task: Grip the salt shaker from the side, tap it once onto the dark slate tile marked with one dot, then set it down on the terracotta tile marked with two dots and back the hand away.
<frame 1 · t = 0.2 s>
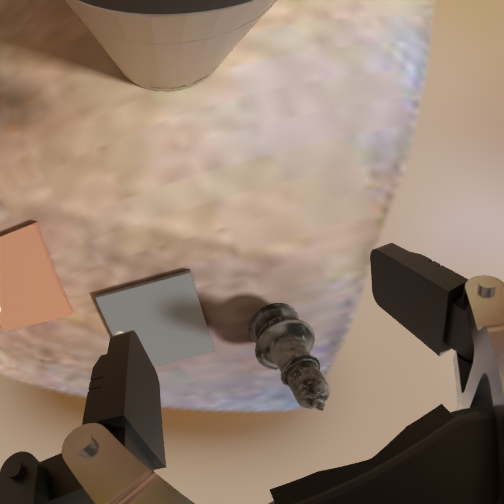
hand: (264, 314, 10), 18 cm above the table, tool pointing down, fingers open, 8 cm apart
salt shaker: (273, 324, 33), on the table
tile two: (17, 280, 24), on the table
tile one: (157, 323, 29), on the table
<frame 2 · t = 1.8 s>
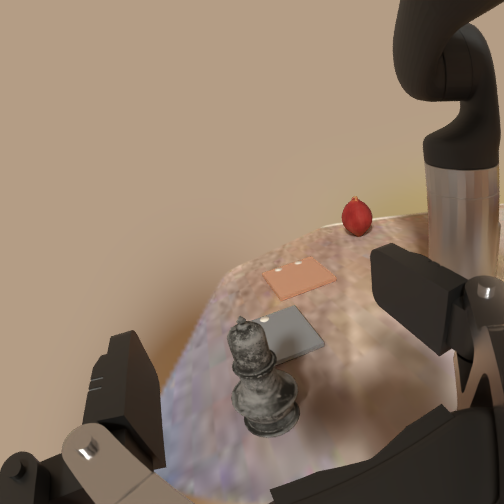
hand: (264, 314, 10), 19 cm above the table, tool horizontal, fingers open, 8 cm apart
salt shaker: (272, 416, 28), on the table
tile two: (297, 278, 50), on the table
tile one: (274, 338, 38), on the table
onion: (359, 236, 59), on the table
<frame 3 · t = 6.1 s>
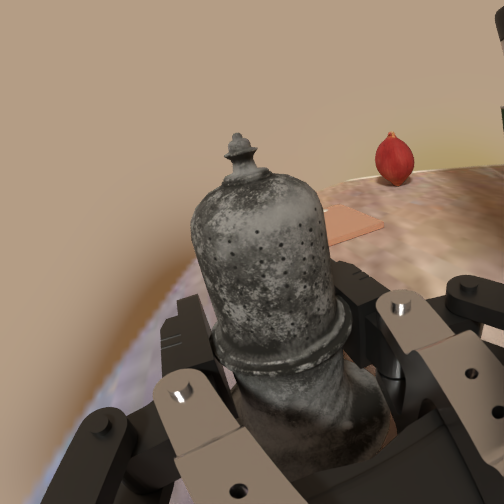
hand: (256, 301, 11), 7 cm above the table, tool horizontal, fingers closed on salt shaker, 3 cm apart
salt shaker: (310, 464, 11), on the table, touching gripper
tile two: (325, 227, 34), on the table
onion: (397, 187, 43), on the table
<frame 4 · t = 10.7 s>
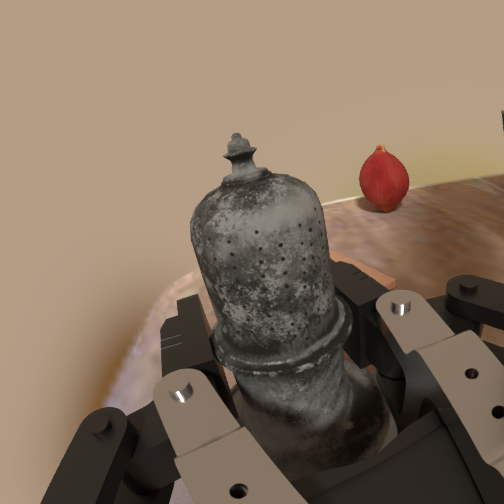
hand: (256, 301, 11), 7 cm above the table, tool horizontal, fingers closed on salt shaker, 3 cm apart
salt shaker: (310, 464, 11), resting on tile one, touching gripper
tile two: (312, 289, 24), on the table
onion: (387, 213, 35), on the table
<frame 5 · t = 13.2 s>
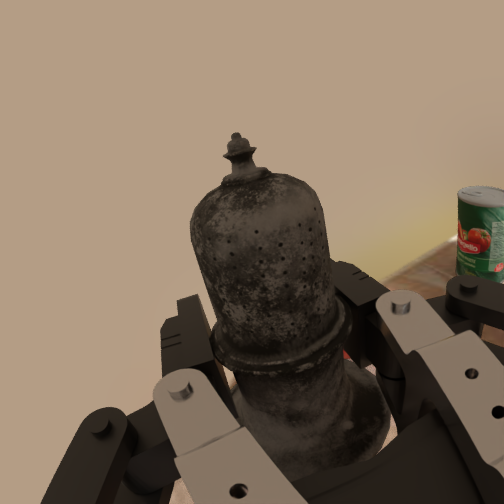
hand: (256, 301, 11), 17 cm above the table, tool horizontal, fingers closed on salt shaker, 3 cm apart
salt shaker: (310, 464, 11), point 11 cm above the table, touching gripper
canned tomato: (480, 273, 35), on the table
when the fingers open (8 cm above the table, at t = 15.2 s): salt shaker stays where it is, resting on tile two.
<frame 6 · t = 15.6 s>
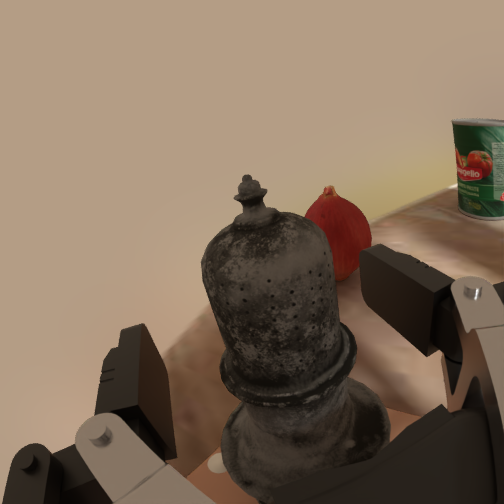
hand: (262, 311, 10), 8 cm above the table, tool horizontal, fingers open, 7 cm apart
salt shaker: (313, 475, 11), resting on tile two
tile two: (312, 476, 11), on the table
canned tomato: (486, 210, 32), on the table
onion: (340, 280, 26), on the table
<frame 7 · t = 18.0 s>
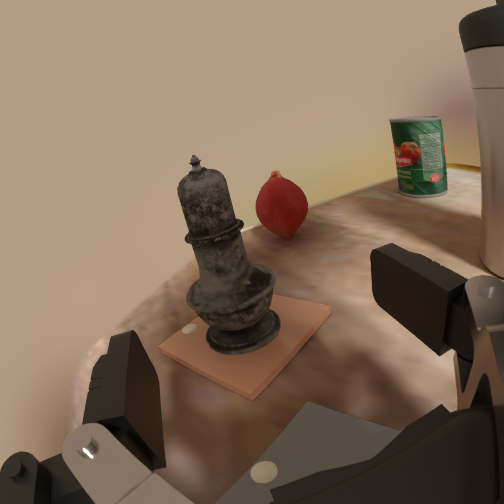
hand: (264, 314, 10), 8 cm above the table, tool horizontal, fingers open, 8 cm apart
salt shaker: (243, 331, 22), resting on tile two
tile two: (244, 334, 22), on the table
canned tomato: (423, 191, 43), on the table
onion: (288, 238, 37), on the table
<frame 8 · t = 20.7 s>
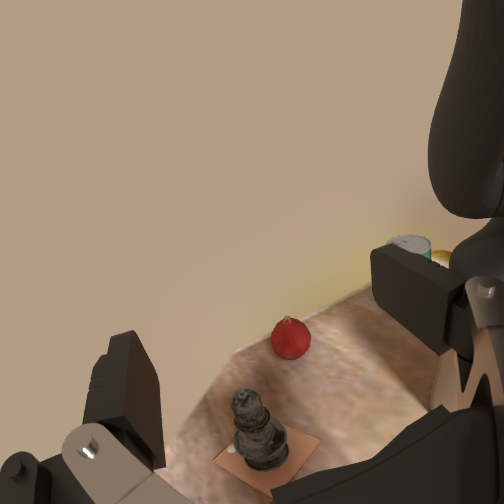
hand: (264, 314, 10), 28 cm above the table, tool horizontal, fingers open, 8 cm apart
salt shaker: (266, 453, 32), resting on tile two
tile two: (266, 454, 32), on the table
canned tomato: (408, 300, 52), on the table
onion: (294, 358, 47), on the table
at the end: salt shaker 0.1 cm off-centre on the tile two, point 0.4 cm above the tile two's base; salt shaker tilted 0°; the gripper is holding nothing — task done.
